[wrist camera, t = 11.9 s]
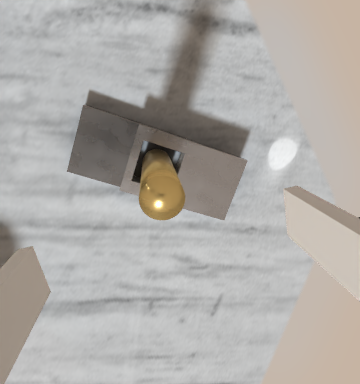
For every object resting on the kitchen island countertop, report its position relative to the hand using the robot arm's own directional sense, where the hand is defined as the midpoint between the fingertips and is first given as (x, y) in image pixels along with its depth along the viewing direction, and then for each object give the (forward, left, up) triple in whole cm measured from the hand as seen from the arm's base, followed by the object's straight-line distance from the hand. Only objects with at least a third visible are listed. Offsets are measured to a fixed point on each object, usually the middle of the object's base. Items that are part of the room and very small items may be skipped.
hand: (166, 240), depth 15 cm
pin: (0, 0, -23) cm, 23 cm away
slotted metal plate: (0, 0, -23) cm, 23 cm away
